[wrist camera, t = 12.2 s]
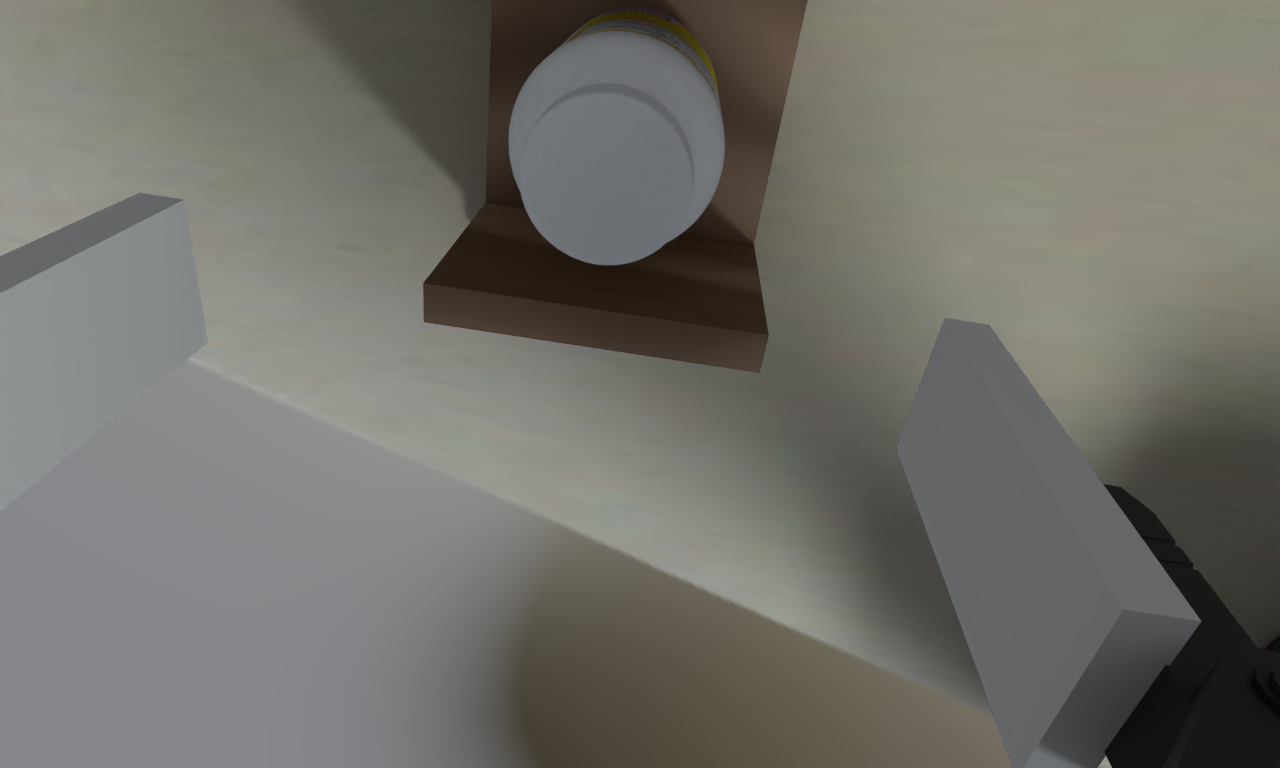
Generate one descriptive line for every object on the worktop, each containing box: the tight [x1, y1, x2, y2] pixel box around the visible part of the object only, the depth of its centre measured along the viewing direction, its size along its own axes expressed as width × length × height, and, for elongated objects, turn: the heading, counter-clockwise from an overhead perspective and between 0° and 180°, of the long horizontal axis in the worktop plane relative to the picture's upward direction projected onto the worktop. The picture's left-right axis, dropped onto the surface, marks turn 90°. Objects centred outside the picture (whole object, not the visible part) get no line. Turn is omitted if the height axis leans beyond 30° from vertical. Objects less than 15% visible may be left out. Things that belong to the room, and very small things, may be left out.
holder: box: [423, 0, 807, 373], centre depth 28 cm, size 16×12×10 cm
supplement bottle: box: [508, 7, 725, 265], centre depth 26 cm, size 7×7×13 cm
